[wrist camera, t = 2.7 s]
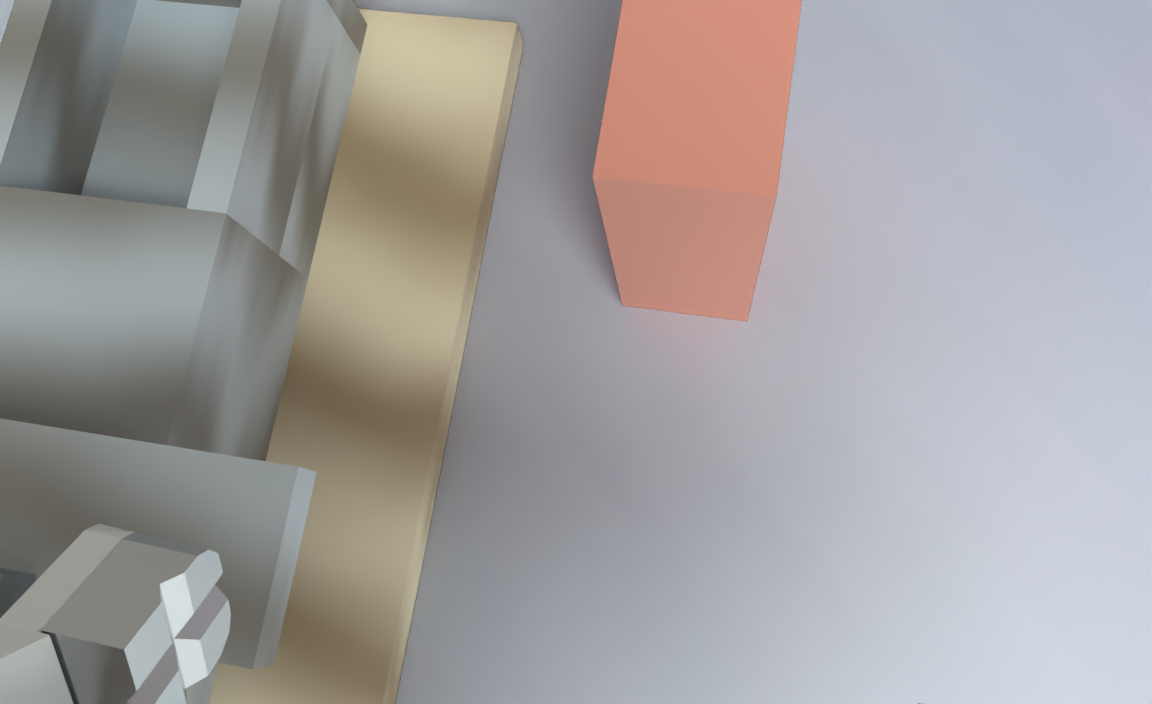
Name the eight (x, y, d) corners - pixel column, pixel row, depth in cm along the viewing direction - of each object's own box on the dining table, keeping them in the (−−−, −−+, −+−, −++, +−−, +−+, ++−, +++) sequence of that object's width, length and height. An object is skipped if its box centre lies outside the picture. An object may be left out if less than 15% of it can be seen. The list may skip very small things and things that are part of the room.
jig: (374, 812, 25) (227, 920, 17) (-168, 696, 27) (-520, 744, 19) (523, 44, 29) (463, -154, 22) (49, 1, 32) (-162, -192, 24)
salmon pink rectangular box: (747, 321, 27) (776, 196, 18) (622, 305, 27) (592, 176, 19) (771, 139, 28) (809, -61, 19) (650, 126, 28) (635, -74, 20)
